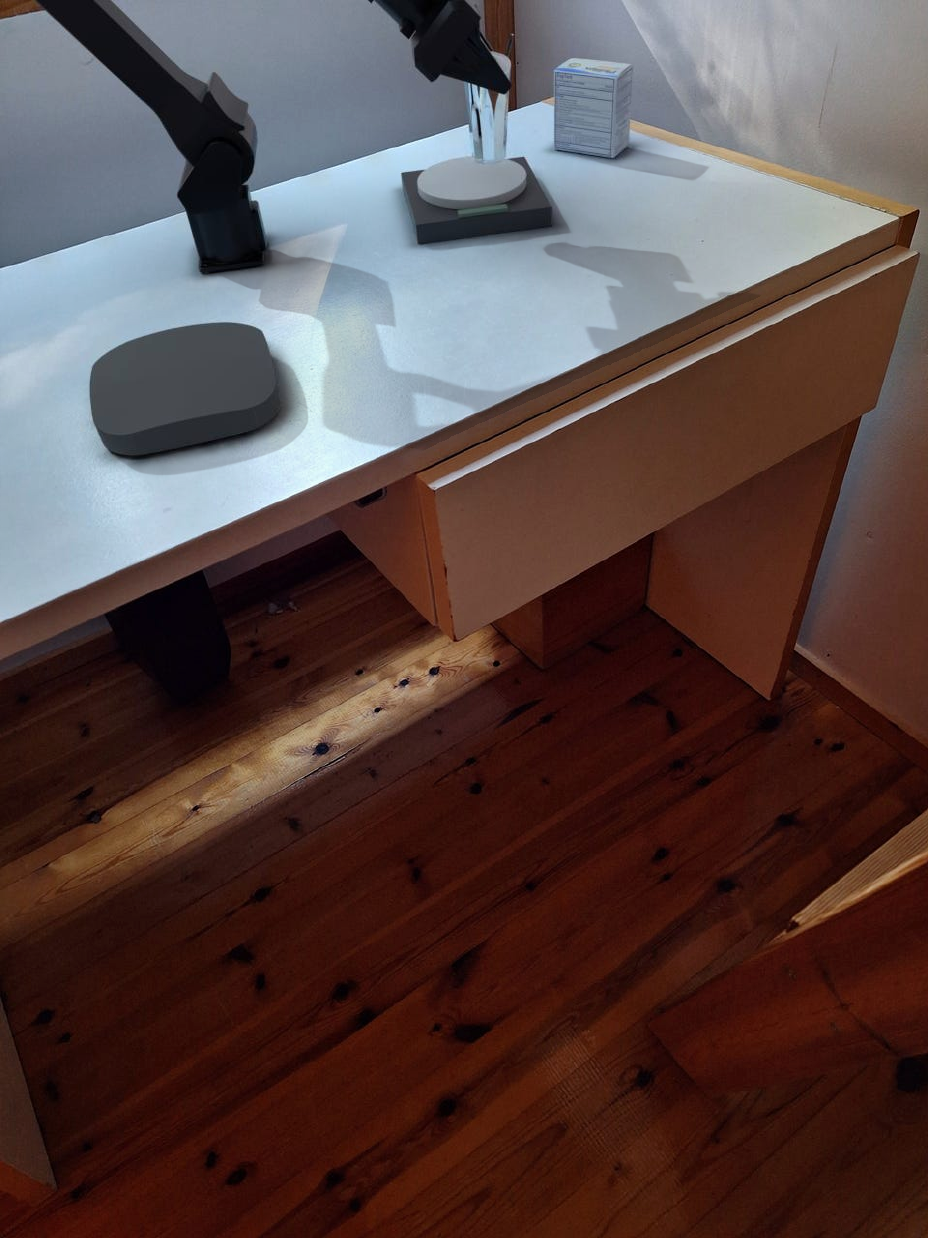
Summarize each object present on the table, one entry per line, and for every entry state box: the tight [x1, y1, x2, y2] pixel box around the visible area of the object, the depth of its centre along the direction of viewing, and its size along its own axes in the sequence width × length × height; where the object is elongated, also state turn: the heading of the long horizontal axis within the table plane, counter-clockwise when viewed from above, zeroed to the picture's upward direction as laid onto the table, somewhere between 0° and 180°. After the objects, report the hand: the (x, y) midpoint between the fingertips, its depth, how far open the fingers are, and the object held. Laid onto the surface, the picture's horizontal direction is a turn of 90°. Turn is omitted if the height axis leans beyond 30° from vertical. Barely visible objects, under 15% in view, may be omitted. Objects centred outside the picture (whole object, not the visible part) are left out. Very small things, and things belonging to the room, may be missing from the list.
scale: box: [400, 155, 553, 245], centre depth 96 cm, size 14×14×3 cm
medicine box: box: [553, 57, 634, 159], centre depth 103 cm, size 8×4×9 cm, turn 58°
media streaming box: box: [88, 321, 282, 456], centre depth 74 cm, size 15×15×3 cm
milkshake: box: [462, 33, 515, 164], centre depth 85 cm, size 5×5×10 cm
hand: (504, 81), depth 84 cm, fingers closed on milkshake, 4 cm apart
